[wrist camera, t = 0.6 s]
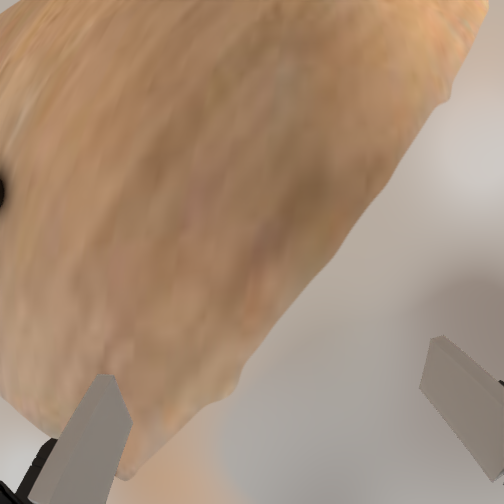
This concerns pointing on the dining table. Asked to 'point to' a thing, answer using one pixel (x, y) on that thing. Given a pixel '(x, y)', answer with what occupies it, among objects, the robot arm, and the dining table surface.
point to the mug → (1, 192)
